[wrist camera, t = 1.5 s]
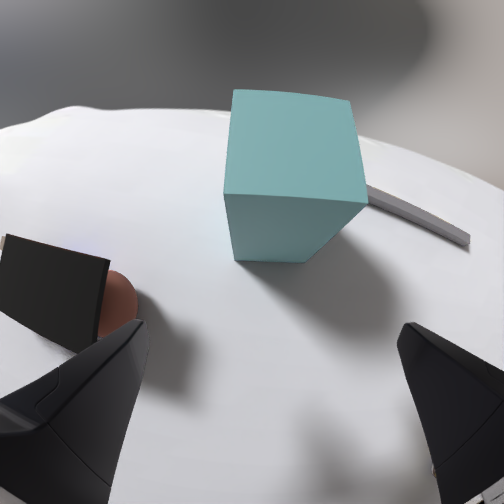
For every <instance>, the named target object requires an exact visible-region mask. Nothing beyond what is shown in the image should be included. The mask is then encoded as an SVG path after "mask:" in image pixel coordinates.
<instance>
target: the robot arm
mask: <svg viewBox="0 0 504 504" xmlns="http://www.w3.org/2000/svg"><path fill="white" fill-rule="evenodd" d="M149 345H150V339H149V334H148V330H147V325H146V322H145V321H144V320H139V319H133V320H131V321H129V322H128V323H126V324H124V325H123V326H121V327H120V328H118V329H117V330H115V331H113V332H112V333H110V334H109V335H107V336H105V337H104V338H102V339H101V340H99V341H98V342H96V343H94V344H93V345H91V346H90V347H88V348H87V349H85V350H83V351H82V352H80V353H79V354H77V355H76V356H74V357H72V358H71V359H69V360H68V361H66V362H65V363H63V364H61V365H60V366H59V367H57V368H55V369H54V370H52V371H50V372H49V373H47V374H46V375H44V376H42V377H41V378H39V379H37V380H35V381H34V382H32V383H30V384H28V385H26V386H24V387H22V388H20V389H18V390H16V391H14V392H12V393H10V394H8V395H7V396H5V397H3V398H0V504H108V500H109V496H110V492H111V487H112V483H113V479H114V475H115V471H116V467H117V463H118V459H119V455H120V452H121V448H122V445H123V441H124V438H125V434H126V431H127V427H128V424H129V421H130V418H131V414H132V411H133V408H134V405H135V402H136V398H137V395H138V392H139V389H140V386H141V383H142V378H143V373H144V369H145V364H146V359H147V355H148V350H149ZM397 348H398V351H399V355H400V358H401V362H402V366H403V369H404V373H405V377H406V380H407V383H408V386H409V389H410V391H411V394H412V397H413V400H414V403H415V406H416V408H417V411H418V414H419V418H420V421H421V424H422V427H423V430H424V433H425V437H426V440H427V444H428V447H429V451H430V454H431V458H432V462H433V466H434V470H435V475H436V479H437V484H438V488H439V493H440V498H441V503H442V504H464V503H466V502H468V501H469V500H471V499H473V498H474V497H476V496H477V495H479V494H480V493H481V496H482V498H483V500H481V501H480V502H478V503H477V504H504V371H502V370H500V369H498V368H497V367H495V366H493V365H491V364H489V363H488V362H486V361H484V360H482V359H480V358H479V357H477V356H475V355H473V354H471V353H470V352H468V351H466V350H464V349H463V348H461V347H459V346H457V345H455V344H454V343H452V342H450V341H448V340H446V339H444V338H443V337H441V336H439V335H437V334H435V333H434V332H432V331H430V330H428V329H426V328H424V327H423V326H421V325H419V324H417V323H415V322H410V323H405V324H404V326H403V328H402V330H401V333H400V335H399V338H398V340H397Z"/></svg>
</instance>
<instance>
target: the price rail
mask: <svg viewBox="0 0 504 504" xmlns="http://www.w3.org/2000/svg"><path fill="white" fill-rule="evenodd" d="M366 188H367V195H368V203H370V204H373V205H375V206H377V207H380V208H382V209H385V210H387V211H389V212H392V213H394V214H396V215H399V216H401V217H403V218H405V219H408V220H410V221H412V222H414V223H416V224H419V225H421V226H423V227H425V228H427V229H429V230H431V231H433V232H435V233H437V234H439V235H441V236H444V237H446V238H447V239H449V240H451V241H453V242H455V243H457V244H459V245H461V246H465V245H468V244H470V234H468V233H466V232H464V231H463V230H461V229H459V228H457V227H455V226H453V225H452V224H450V223H448V222H446V221H445V220H443V219H441V218H439V217H437V216H435V215H433V214H431V213H429V212H427V211H424V210H422V209H420V208H418V207H416V206H414V205H412V204H410V203H408V202H406V201H404V200H401V199H400V198H397V197H395V196H393V195H391V194H389V193H386V192H384V191H382V190H379V189H377V188H375V187H372V186H369V185H367V184H366Z"/></svg>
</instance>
